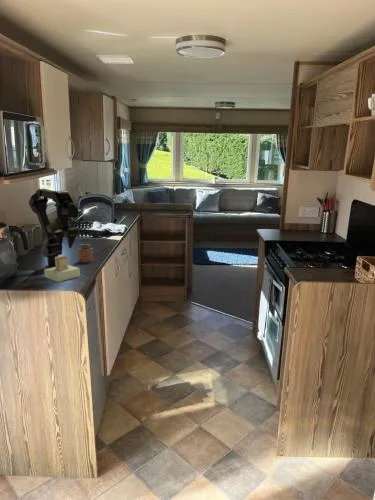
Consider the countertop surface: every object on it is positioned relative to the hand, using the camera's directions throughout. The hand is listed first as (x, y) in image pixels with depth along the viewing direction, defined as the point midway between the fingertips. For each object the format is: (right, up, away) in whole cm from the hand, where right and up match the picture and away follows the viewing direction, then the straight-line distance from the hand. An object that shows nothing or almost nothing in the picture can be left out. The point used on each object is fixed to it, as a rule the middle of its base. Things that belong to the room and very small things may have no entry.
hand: (65, 246), depth 194 cm
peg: (+1, -15, -7) cm, 16 cm away
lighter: (+5, -8, +23) cm, 25 cm away
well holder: (+1, -15, -7) cm, 16 cm away
